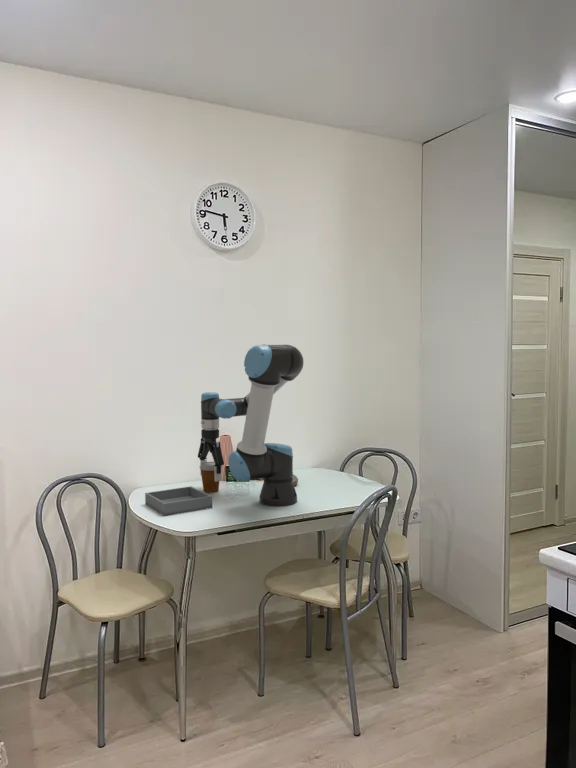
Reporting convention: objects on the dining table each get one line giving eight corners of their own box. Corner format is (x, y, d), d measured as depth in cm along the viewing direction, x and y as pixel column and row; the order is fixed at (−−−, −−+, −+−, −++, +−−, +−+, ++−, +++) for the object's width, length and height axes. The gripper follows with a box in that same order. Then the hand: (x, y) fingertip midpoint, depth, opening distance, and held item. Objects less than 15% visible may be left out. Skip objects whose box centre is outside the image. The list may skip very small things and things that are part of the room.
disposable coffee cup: (204, 495, 256) (204, 466, 256) (196, 490, 265) (196, 462, 264) (225, 492, 261) (225, 464, 260) (217, 487, 269) (216, 460, 269)
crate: (212, 507, 237) (212, 496, 237) (164, 515, 226) (164, 503, 226) (191, 497, 253) (190, 486, 253) (145, 504, 242) (145, 492, 242)
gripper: (189, 425, 269) (190, 473, 271) (215, 433, 249) (215, 485, 250) (205, 424, 273) (205, 471, 275) (232, 431, 253) (232, 482, 254)
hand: (210, 477), depth 263 cm, fingers open, 13 cm apart
